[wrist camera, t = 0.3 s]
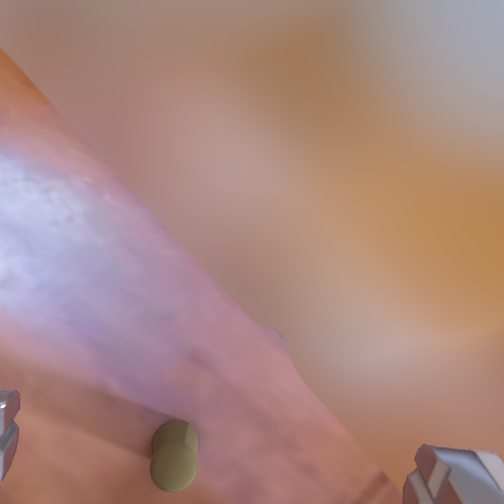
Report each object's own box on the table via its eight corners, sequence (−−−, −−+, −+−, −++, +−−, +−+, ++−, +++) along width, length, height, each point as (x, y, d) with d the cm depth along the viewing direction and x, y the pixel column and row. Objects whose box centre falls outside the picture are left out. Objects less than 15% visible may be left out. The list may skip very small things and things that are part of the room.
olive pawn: (171, 478, 59) (168, 514, 49) (142, 441, 60) (132, 469, 49) (208, 446, 61) (213, 473, 50) (179, 409, 61) (178, 429, 50)
